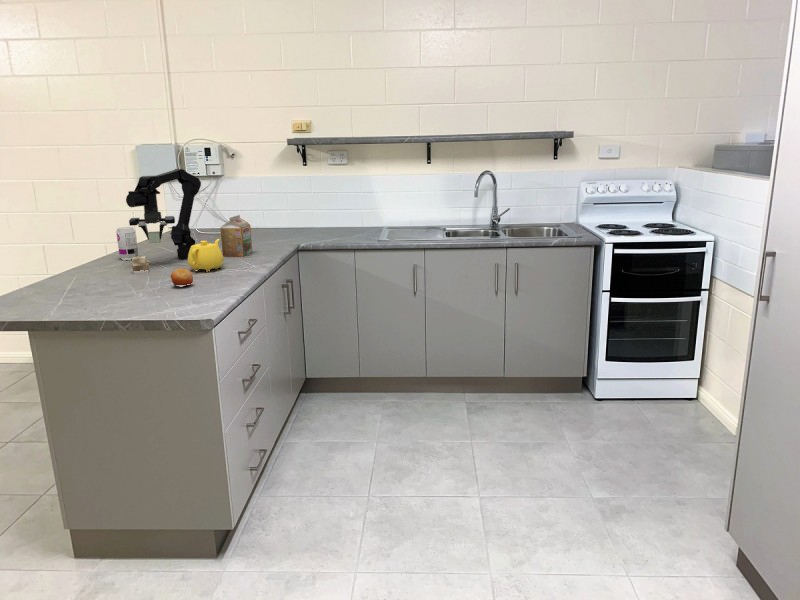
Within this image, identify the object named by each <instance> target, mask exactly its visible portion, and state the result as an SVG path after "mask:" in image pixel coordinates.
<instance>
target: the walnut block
mask: <svg viewBox="0 0 800 600" xmlns="http://www.w3.org/2000/svg"><path fill="white" fill-rule="evenodd" d="M149 269H150V263H149V262H146V265H141V266H133V265H132V272H133V271H140V270H144V271H145V270H149ZM149 271H150V270H149Z"/></svg>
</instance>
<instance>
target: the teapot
mask: <svg viewBox="0 0 800 600" xmlns="http://www.w3.org/2000/svg"><path fill="white" fill-rule="evenodd" d="M220 241H221V238H217V239H216V240H215V241H214V243H211V242H209V243H208V240H200V243H195V245H192V246H191V248H190V251H189V254H188V259H187V264H188V266H189V267H190V268H191V269H193V271H194V270H199V269H200V270H204V271H205V270H206V271H209V270H211V271H212V270H213V269H214V268H220V267H222V266H223V264H224V257H223V252H222V250H221V248H220V247H219V246H220V245H219V242H220ZM200 270H199V271H200Z"/></svg>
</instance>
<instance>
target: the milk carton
mask: <svg viewBox="0 0 800 600" xmlns="http://www.w3.org/2000/svg"><path fill="white" fill-rule="evenodd" d="M228 219H229V220H228V221H226V222H225V223H224V224H222V226H220V228H219V231H220V241H221V249H222V250H221V252H222V255H223V256H224V257H223V258H245V257H244V256H246V257H248V256H250V255H252V254H253V252H254V251H253V242H252V241H253V240H252V229H251V228H252V227H251V226H252V225H251V224H250V223H249V222H248V221H246V220H244V219H243V218H241V215H240V214H238V215H234V216H231V217H229V218H228ZM251 253H252V254H251ZM249 254H250V255H249ZM247 255H248V256H247Z"/></svg>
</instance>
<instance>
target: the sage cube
mask: <svg viewBox="0 0 800 600" xmlns="http://www.w3.org/2000/svg"><path fill="white" fill-rule="evenodd" d="M159 235H160V230H159V231H148V238H149V240H148V243H149V244H160V243H161V242H162V239H161V240H160V236H159Z"/></svg>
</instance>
